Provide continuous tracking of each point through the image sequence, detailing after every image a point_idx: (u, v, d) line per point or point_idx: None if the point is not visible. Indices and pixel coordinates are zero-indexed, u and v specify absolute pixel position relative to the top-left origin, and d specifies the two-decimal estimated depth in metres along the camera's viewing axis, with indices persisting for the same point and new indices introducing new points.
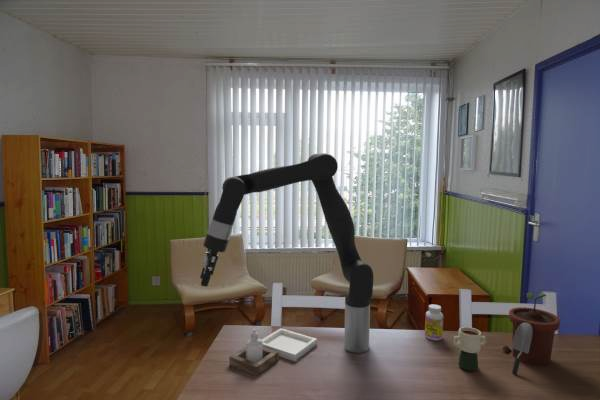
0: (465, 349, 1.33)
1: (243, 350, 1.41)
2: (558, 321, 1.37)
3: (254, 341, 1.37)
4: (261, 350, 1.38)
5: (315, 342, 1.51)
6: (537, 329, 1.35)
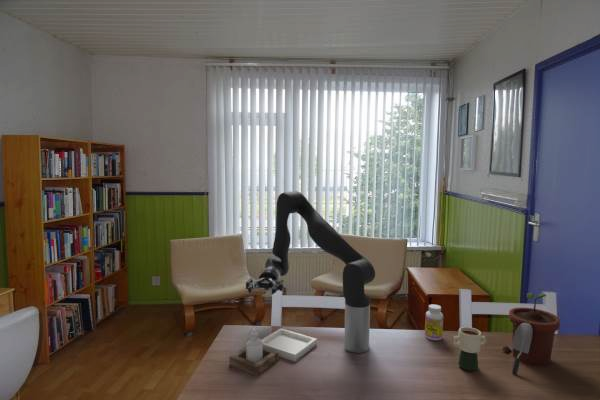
0: (465, 349, 1.33)
1: (243, 350, 1.41)
2: (558, 321, 1.37)
3: (254, 341, 1.37)
4: (261, 350, 1.38)
5: (315, 342, 1.51)
6: (537, 329, 1.35)
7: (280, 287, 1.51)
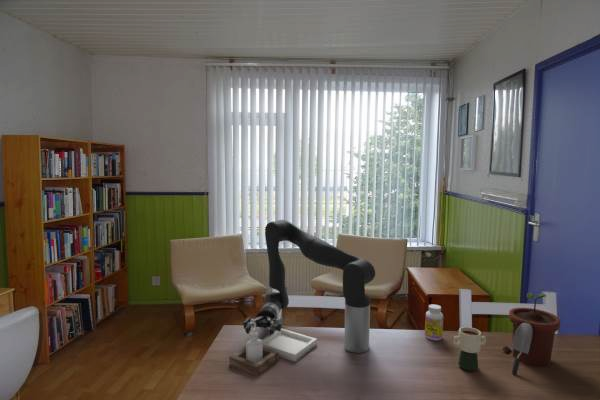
0: (465, 349, 1.33)
1: (243, 350, 1.41)
2: (558, 321, 1.36)
3: (254, 341, 1.37)
4: (261, 350, 1.38)
5: (315, 342, 1.51)
6: (537, 329, 1.35)
7: (278, 327, 1.48)
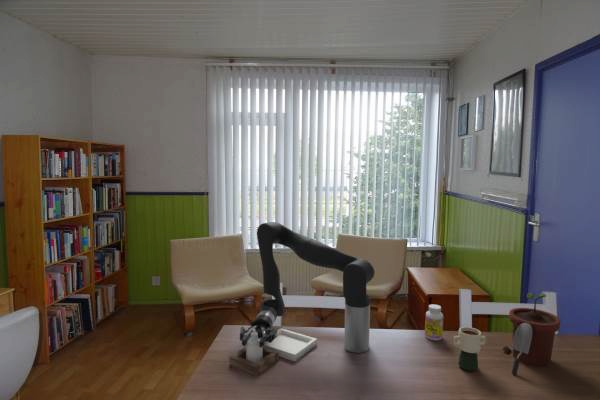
0: (465, 349, 1.33)
1: (243, 350, 1.41)
2: (558, 322, 1.36)
3: (254, 341, 1.37)
4: (261, 350, 1.38)
5: (315, 342, 1.51)
6: (537, 329, 1.35)
7: (269, 338, 1.39)
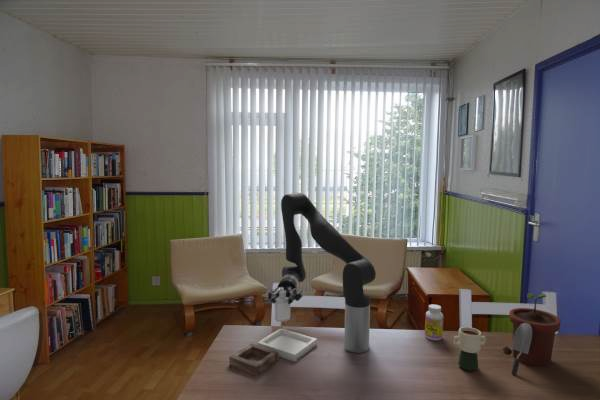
0: (465, 349, 1.33)
1: (243, 350, 1.41)
2: (558, 322, 1.36)
3: (282, 299, 1.45)
4: (289, 308, 1.47)
5: (315, 342, 1.51)
6: (537, 330, 1.34)
7: (296, 297, 1.47)
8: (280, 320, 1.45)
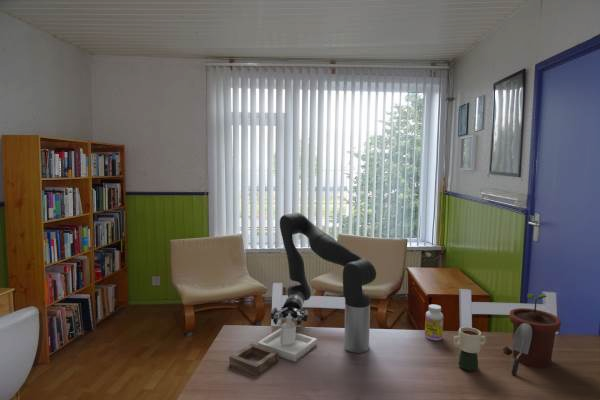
0: (465, 349, 1.33)
1: (243, 350, 1.41)
2: (559, 322, 1.36)
3: (289, 324, 1.48)
4: (294, 333, 1.50)
5: (315, 342, 1.51)
6: (537, 330, 1.34)
7: (305, 318, 1.51)
8: (285, 344, 1.49)
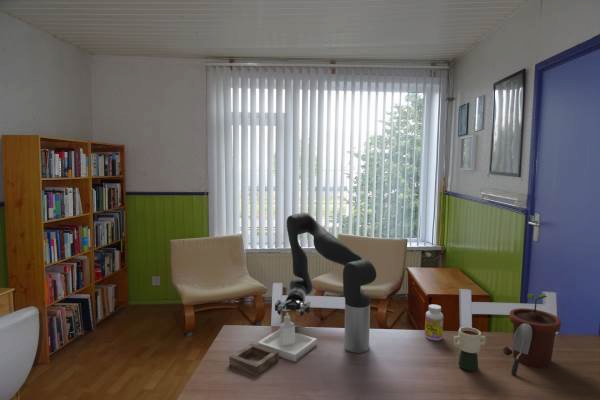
0: (465, 349, 1.33)
1: (243, 350, 1.41)
2: (559, 322, 1.36)
3: (287, 324, 1.49)
4: (294, 332, 1.50)
5: (315, 342, 1.51)
6: (537, 330, 1.34)
7: (307, 309, 1.60)
8: (285, 344, 1.49)
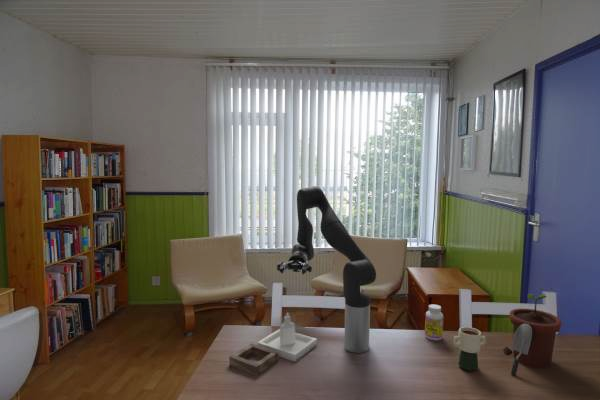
0: (465, 349, 1.33)
1: (243, 350, 1.41)
2: (559, 323, 1.35)
3: (287, 324, 1.49)
4: (294, 332, 1.50)
5: (315, 342, 1.51)
6: (537, 330, 1.34)
7: (309, 268, 1.62)
8: (285, 345, 1.49)
